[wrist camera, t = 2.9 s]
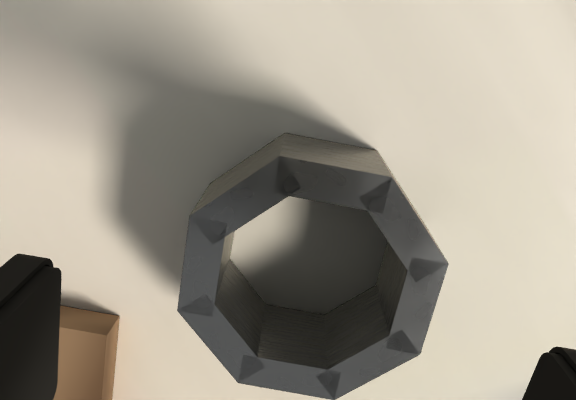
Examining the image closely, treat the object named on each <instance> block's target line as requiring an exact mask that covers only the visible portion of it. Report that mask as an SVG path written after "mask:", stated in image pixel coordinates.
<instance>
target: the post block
mask: <svg viewBox="0 0 576 400" xmlns="http://www.w3.org/2000/svg"><path fill="white" fill-rule="evenodd" d="M118 328H119V316H116V315H110V314H105V313H99V312H94V311H88V310H83V309H77V308H71V307H66V306H60V328H59V356H58V383H57V389H56V393H55V396H54V399H53V400H112V395H113V383H114V372H115V361H116V350H117V339H118Z"/></svg>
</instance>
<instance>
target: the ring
mask: <svg viewBox="0 0 576 400" xmlns="http://www.w3.org/2000/svg"><path fill="white" fill-rule="evenodd" d="M288 196H292V197H297V198H303V199H308V200H313V201H319V202H324V203H329V204H335V205H340V206H345V207H351V208H356V209H361V210H367V211H368V213H369V214H370V215H371V217H372V218H373V220H374V221H375V223H376V224H377V226H378V227H379V229H380V230H381V232H382V233H383V235H384V236H385V238H386V239H387V241H388V242H387V246H386V249H385V253H384V257H383V260H382V264H381V268H380V272H379V275H378V279H377V283H376V286H374V287H372V288H371V289H369V290H367V291H365V292H364V293H362V294H360V295H358V296H357V297H355V298H353V299H351V300H350V301H348V302H346V303H345V304H343V305H341V306H339V307H338V308H336V309H334V310H332V311H331V312H329V313H327V314H325V315H321V314H316V313H310V312H305V311H299V310H294V309H288V308H283V307H277V306H271V305H266V304H265V303H264V302H263V301H262V299H261V298H260V297H259V295H258V294H257V293H256V292H255V290H254V289H253V288H252V287H251V285H250V284H249V283H248V281H247V280H246V279H245V278H244V276H243V275H242V274H241V272H240V271H239V270H238V269H237V267H236V266H235V265H234V264H233V262H232V261H231V260H230V254H231V248H232V242H233V236H234V231H235V230H237V229H238V228H240V227H241V226H243V225H244V224H246V223H247V222H249V221H251V220H252V219H254V218H255V217H257V216H258V215H260V214H261V213H263V212H265V211H266V210H268V209H269V208H271V207H272V206H274V205H275V204H277V203H279V202H280V201H282V200H283V199H285V198H286V197H288ZM447 267H448V262H447V260H446V259H445V257H444V255H443V254H442V252H441V250H440V249H439V247H438V245H437V244H436V242H435V240H434V239H433V237H432V235H431V234H430V232H429V230H428V229H427V227H426V225H425V224H424V222H423V221H422V219H421V218H420V216H419V215H418V213H417V211H416V210H415V208H414V207H413V205H412V204H411V202H410V201H409V199H408V198H407V196H406V194H405V193H404V191H403V190H402V188H401V187H400V185H399V184H398V182H397V181H396V179H395V177H394V176H393V174H392V173H391V171H390V170H389V168H388V167H387V165H386V164H385V162H384V160H383V159H382V157H381V156H380V154H379V153H378V151H377V150H372V149H366V148H361V147H356V146H351V145H345V144H340V143H335V142H330V141H324V140H319V139H314V138H308V137H303V136H298V135H293V134H287V133H284V134H283V135H281V136H280V137H278V138H277V139H275V140H274V141H272V142H271V143H269V144H268V145H266V146H265V147H263V148H262V149H260V150H259V151H258V152H256V153H255V154H253V155H252V156H250V157H249V158H247V159H246V160H244V161H243V162H241V163H240V164H238V165H237V166H235V167H234V168H232V169H231V170H229V171H228V172H226V173H225V174H224V175H222V176H221V177H219V178H218V179H216V180H215V181H213V182H212V183H210V185H209V186H208V188H207V189H206V191H205V192H204V194H203V196H202V197H201V199H200V200H199V202H198V204H197V205H196V207H195V208H194V210H193V211H192V213H191V215H190V217H189V225H188V233H187V240H186V248H185V256H184V263H183V271H182V278H181V286H180V294H179V301H178V309H177V311H178V312H179V313H180V315H181V316H182V317H183V318H184V319H185V320H186V322H187V323H188V324H189V325H190V326H191V328H192V329H193V330H194V331H195V332H196V334H197V335H198V336H199V337H200V338H201V339H202V341H203V342H204V343H205V344H206V345H207V347H208V348H209V349H210V350H211V351H212V353H213V354H214V355H215V356H216V357H217V359H218V360H219V361H220V362H221V363H222V364H223V366H224V367H225V368H226V369H227V370H228V372H229V373H230V374H231V375H232V376H233V378H234V379H235V380H236V381H237V382H238V383H241V384H247V385H252V386H258V387H264V388H269V389H275V390H281V391H286V392H292V393H297V394H303V395H309V396H314V397H320V398H326V399H331V400H335V399H337V398H339V397H341V396H343V395H345V394H347V393H349V392H350V391H352V390H354V389H356V388H358V387H360V386H362V385H364V384H365V383H367V382H369V381H371V380H373V379H375V378H377V377H379V376H380V375H382V374H384V373H386V372H388V371H390V370H392V369H394V368H396V367H397V366H399V365H401V364H403V363H405V362H407V361H409V360H411V359H412V358H414V357H416V356H418V355H420V353H421V350H422V347H423V343H424V340H425V337H426V334H427V331H428V327H429V324H430V321H431V318H432V315H433V312H434V308H435V305H436V302H437V299H438V296H439V293H440V289H441V286H442V283H443V280H444V277H445V273H446V270H447Z"/></svg>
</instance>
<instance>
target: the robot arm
mask: <svg viewBox="0 0 576 400" xmlns="http://www.w3.org/2000/svg"><path fill="white" fill-rule="evenodd" d="M60 301H61V271H60V269H59V268H54V267H53V263H52V261H51V260H50V259H48V258H42V257H36V256H30V255H25V254H17V255H15V256H13V257H12V258H11V259H10V260H9V261H7V262H6V263H5V264H4V265H3V266H1V267H0V400H53V399H54V396H55V393H56V389H57V383H58V356H59V328H60ZM522 400H576V350H574V349H568V348H562V347H554V348H552V349H551V350H550V351H549V353H544V354H542V355H541V357H540V359H539V361H538V363H537V366H536V368H535V370H534V373H533V375H532V378H531V380H530V382H529V385H528V387H527V389H526V392H525V394H524V397H523V399H522Z"/></svg>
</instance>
